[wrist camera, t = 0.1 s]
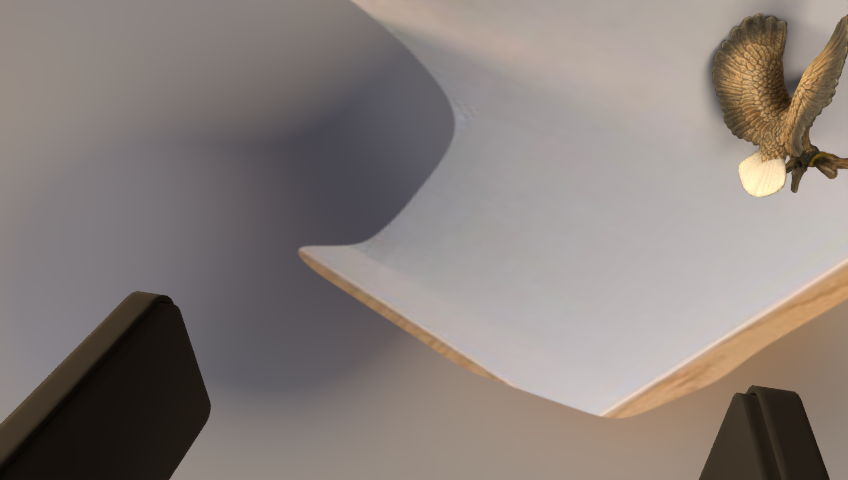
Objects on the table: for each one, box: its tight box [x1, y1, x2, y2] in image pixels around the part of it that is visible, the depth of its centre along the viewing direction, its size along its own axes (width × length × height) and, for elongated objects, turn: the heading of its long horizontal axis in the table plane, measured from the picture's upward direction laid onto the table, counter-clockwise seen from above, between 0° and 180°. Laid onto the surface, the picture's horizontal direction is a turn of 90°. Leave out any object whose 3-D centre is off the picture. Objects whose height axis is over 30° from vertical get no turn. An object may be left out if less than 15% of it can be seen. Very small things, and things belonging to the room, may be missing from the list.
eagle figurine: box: [712, 14, 848, 197], centre depth 33 cm, size 8×7×9 cm
